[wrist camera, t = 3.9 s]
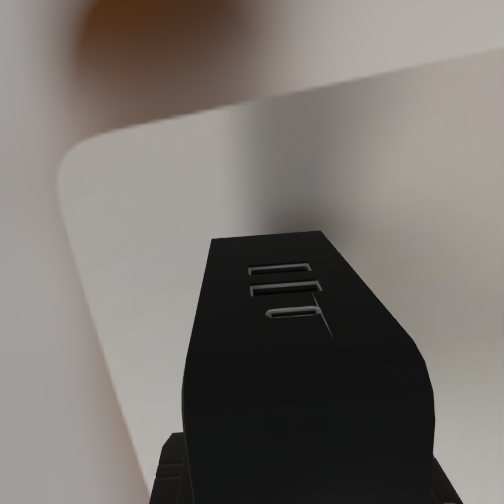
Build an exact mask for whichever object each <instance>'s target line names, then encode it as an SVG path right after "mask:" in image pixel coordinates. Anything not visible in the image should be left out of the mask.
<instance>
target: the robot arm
mask: <svg viewBox="0 0 504 504" xmlns="http://www.w3.org/2000/svg"><path fill="white" fill-rule="evenodd" d="M149 504H194V502H193V495H192V488H191V481H190V474H189V467H188V460H187V452H186V445H185V438H184V432H180V433H172V435H171V436H170V437H169V439H168V440H167V441H166V443H165V444H164V445H163V447H162V451H161V455H160V459H159V465H158V468H157V472H156V479H155V481H154V485H153V489H152V494H151V498H150V502H149ZM429 504H463V502H462V501H461V499H460V497H459V496H458V494H457V493H456V491H455V489H454V488H453V486H452V484H451V483H450V481H449V479H448V478H447V476H446V474H445V473H444V471H443V469H442V468H441V466H440V464H439V463H438V461H437V460H436V458H434V455H433V458H432V471H431V485H430V498H429Z"/></svg>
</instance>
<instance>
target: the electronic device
mask: <svg viewBox="0 0 504 504" xmlns="http://www.w3.org/2000/svg"><path fill="white" fill-rule="evenodd" d="M182 421H183V431H184V438H185V445H186V452H187V460H188V467H189V474H190V481H191V488H192V495H193V502H194V504H429V498H430V485H431V471H432V458H433V444H434V431H435V411H434V395H433V389H432V385H431V382H430V378H429V374H428V371H427V367H426V363H425V360H424V359H423V357H422V355H421V353H420V351H419V350H418V348H417V346H416V344H415V342H414V341H413V339H412V338H411V337H410V336H409V335H408V333H407V332H406V331H405V330H404V329H403V328H402V326H401V325H400V324H399V323H398V322H397V320H396V319H395V318H394V317H393V316H392V315H391V313H390V312H389V311H388V310H387V309H386V307H385V306H384V305H383V304H382V303H381V302H380V300H379V299H378V298H377V297H376V296H375V294H374V293H373V292H372V291H371V290H370V289H369V287H368V286H367V285H366V284H365V283H364V282H363V280H362V279H361V278H360V277H359V276H358V274H357V273H356V272H355V271H354V270H353V269H352V267H351V266H350V265H349V264H348V263H347V261H346V260H345V259H344V258H343V257H342V256H341V254H340V253H339V252H338V251H337V250H336V248H335V247H334V246H333V245H332V244H331V243H330V241H329V240H328V239H327V238H326V237H325V235H324V234H323V233H322V232H321V231H308V232H295V233H282V234H269V235H256V236H243V237H230V238H217V239H212V240H211V245H210V249H209V254H208V259H207V264H206V268H205V273H204V278H203V282H202V287H201V292H200V296H199V301H198V306H197V310H196V315H195V320H194V324H193V329H192V334H191V338H190V343H189V348H188V353H187V357H186V363H185V369H184V376H183V384H182Z"/></svg>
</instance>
